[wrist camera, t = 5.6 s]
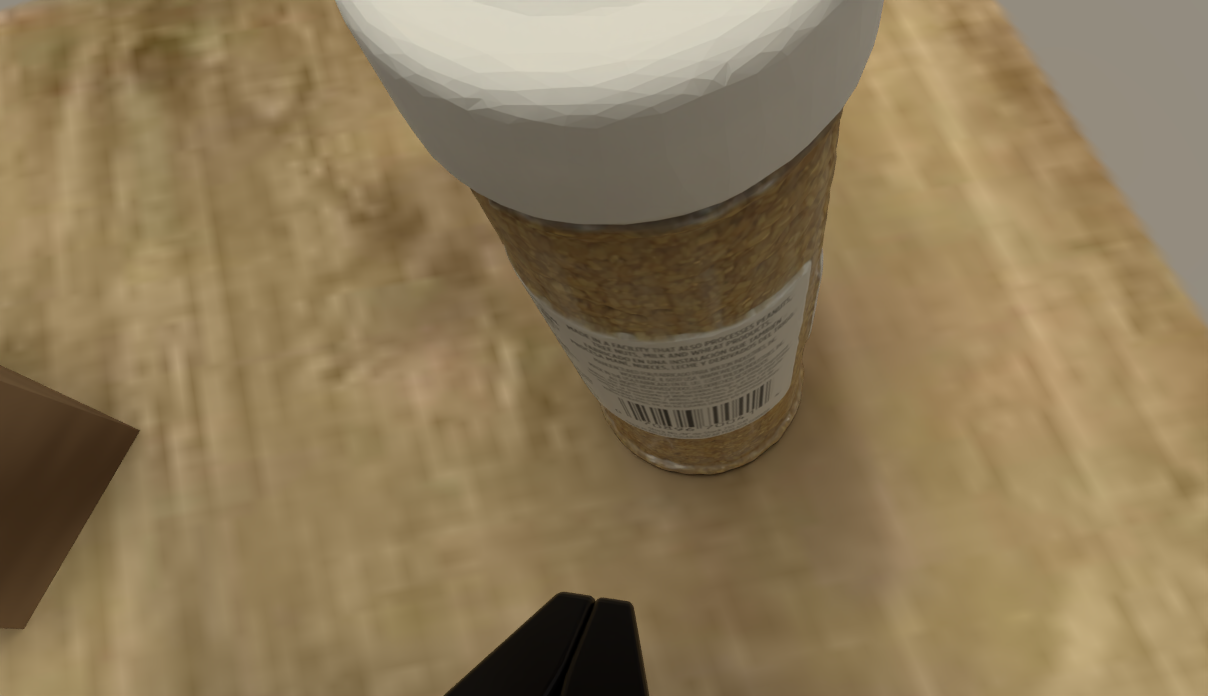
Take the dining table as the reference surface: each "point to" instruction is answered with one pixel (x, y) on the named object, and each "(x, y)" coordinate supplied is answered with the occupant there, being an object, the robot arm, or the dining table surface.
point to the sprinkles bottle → (646, 186)
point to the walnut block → (47, 484)
